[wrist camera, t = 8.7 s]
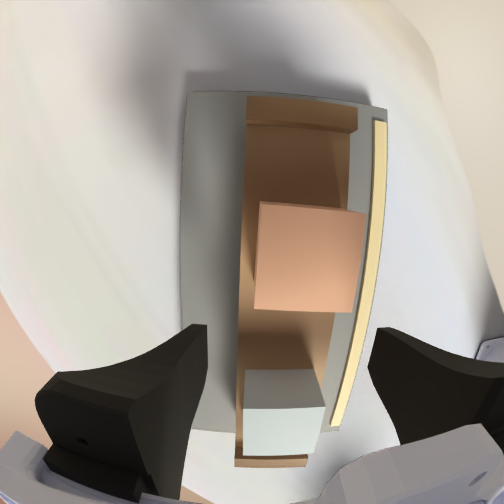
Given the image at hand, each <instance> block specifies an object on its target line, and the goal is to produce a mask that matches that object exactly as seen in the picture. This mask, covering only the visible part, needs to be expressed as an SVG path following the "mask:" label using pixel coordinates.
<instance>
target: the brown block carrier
mask: <svg viewBox="0 0 504 504" xmlns="http://www.w3.org/2000/svg"><path fill="white" fill-rule="evenodd" d="M357 130H358V107H353V106H347V105H341V104H335V103H328V102H320V101H312V100H303V99H293V98H281V97H266V96H247V103H246V141H245V162H244V184H243V207H242V231H241V257H240V285H239V316H238V350H237V390H236V440H235V466H234V467H249V468H286V467H305V466H306V463H307V460H308V456H307V454H299V455H276V456H247V455H243V401H244V381H245V369H253V370H290V369H314V370H315V373H316V376H317V380H318V383H319V386H320V389H321V386H322V381H323V377H324V372H325V367H326V362H327V357H328V352H329V347H330V341H331V336H332V330H333V324H334V318H335V312H306V311H283V310H264V309H254V275H255V261H256V247H257V233H258V219H259V205H260V201H266V202H279V203H291V204H302V205H313V206H323V207H333V208H342V209H346V210H347V204H348V188H349V165H350V134H351V133H353V132H355V131H357Z"/></svg>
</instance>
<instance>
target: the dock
mask: <svg viewBox="0 0 504 504" xmlns="http://www.w3.org/2000/svg"><path fill="white" fill-rule="evenodd" d="M247 96H266V97H281V98H293V99H303V100H312V101H320V102H328V103H335V104H341V105H347V106H353V107H358V130H357V131H355V132H353V133H351V134H350V165H349V188H348V204H347V210H351V211H355V212H360V213H364V214H366V224H365V232H364V240H363V248H362V255H361V262H360V269H359V275H358V281H357V287H356V293H355V298H354V304H353V309H352V313H342V312H335V318H334V324H333V330H332V336H331V341H330V347H329V352H328V357H327V362H326V367H325V372H324V377H323V381H322V386H321V392H322V396H323V399H324V402H325V405H326V408H325V412H324V416H323V421H322V425H321V429H320V432H331V431H339V428H340V425H341V422H342V419H343V416H344V413H345V410H346V407H347V404H348V401H349V398H350V394H351V391H352V387H353V384H354V380H355V377H356V373H357V370H358V366H359V362H360V358H361V354H362V350H363V346H364V341H365V337H366V333H367V328H368V323H369V319H370V314H371V309H372V303H373V298H374V292H375V286H376V280H377V274H378V267H379V260H380V252H381V244H382V236H383V226H384V215H385V202H386V187H387V161H388V121H387V109H383V108H379V107H374V106H369V105H364V104H359V103H354V102H348V101H342V100H336V99H329V98H322V97H314V96H306V95H296V94H285V93H272V92H252V91H196V92H188V93H187V103H186V114H185V127H184V141H183V157H182V177H181V208H180V277H181V309H182V329H183V330H184V329H185V328H186V327H188V326H189V325H191V324H204V325H207V339H208V370H207V376H206V382H205V386H204V390H203V393H202V396H201V399H200V402H199V405H198V408H197V411H196V414H195V417H194V420H193V423H192V426H191V429H197V430H206V431H216V432H229V433H236V390H237V350H238V316H239V285H240V257H241V231H242V207H243V184H244V162H245V141H246V103H247Z"/></svg>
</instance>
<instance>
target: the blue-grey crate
mask: <svg viewBox="0 0 504 504" xmlns="http://www.w3.org/2000/svg"><path fill="white" fill-rule="evenodd" d="M325 408H326V405H325V402H324V399H323V396H322V392H321V389H320V386H319V383H318V380H317V376H316V373H315V370H314V369H290V370H253V369H245V381H244V401H243V455H247V456H276V455H299V454H312V453H314V451H315V447H316V444H317V440H318V436H319V432H320V429H321V425H322V421H323V416H324V412H325Z"/></svg>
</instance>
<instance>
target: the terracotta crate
mask: <svg viewBox="0 0 504 504" xmlns="http://www.w3.org/2000/svg"><path fill="white" fill-rule="evenodd" d="M365 224H366V214H364V213H360V212H355V211H351V210H346V209H342V208H333V207H323V206H313V205H302V204H291V203H279V202H266V201H260V205H259V219H258V233H257V247H256V261H255V275H254V309H264V310H283V311H306V312H342V313H352V309H353V304H354V298H355V293H356V287H357V281H358V275H359V269H360V262H361V255H362V248H363V240H364V232H365Z"/></svg>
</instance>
